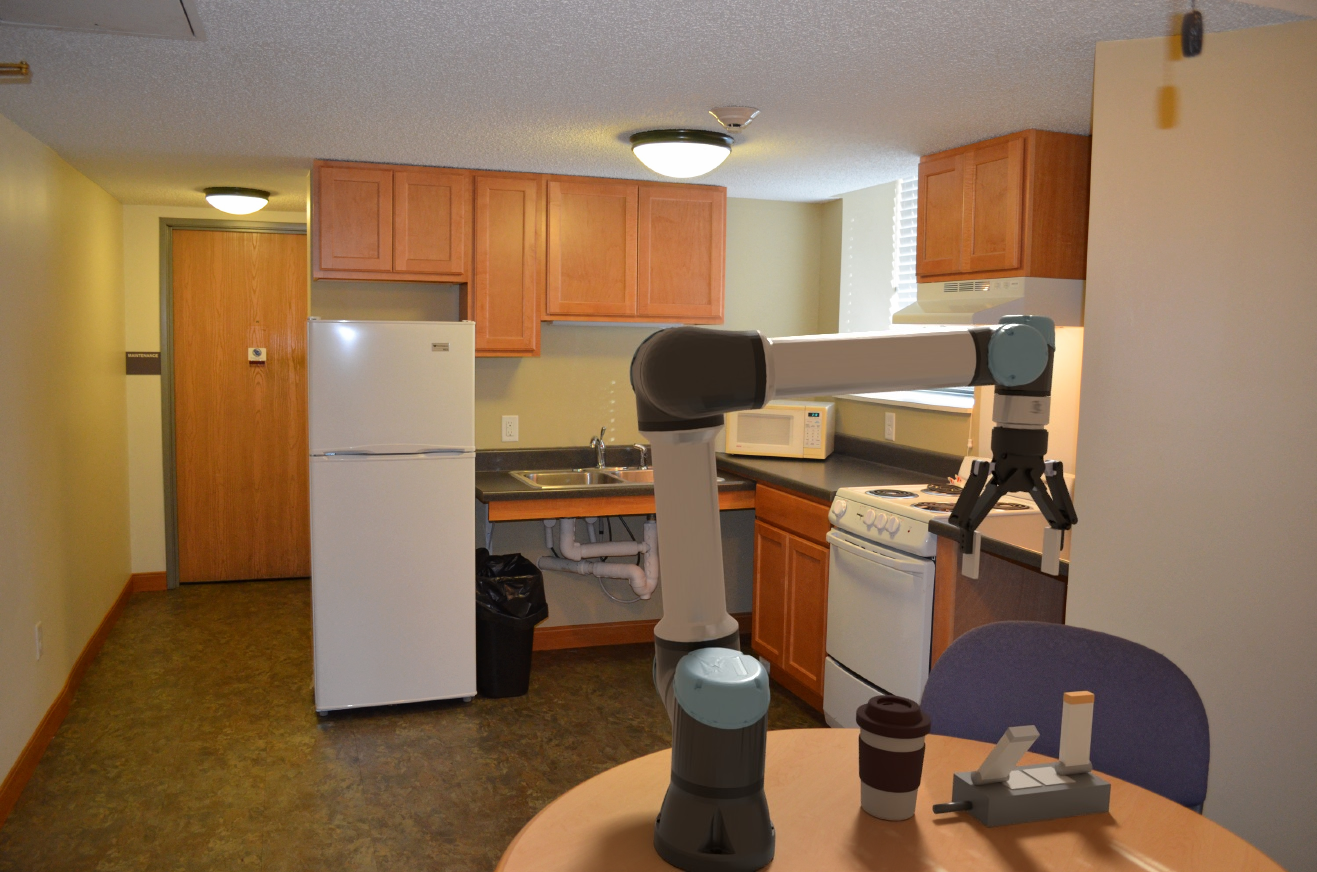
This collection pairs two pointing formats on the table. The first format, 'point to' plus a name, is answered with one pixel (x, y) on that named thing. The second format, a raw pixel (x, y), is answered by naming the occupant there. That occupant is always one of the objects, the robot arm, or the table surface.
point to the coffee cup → (891, 755)
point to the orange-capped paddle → (1075, 733)
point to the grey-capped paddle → (1005, 755)
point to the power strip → (1028, 796)
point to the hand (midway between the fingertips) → (1010, 575)
